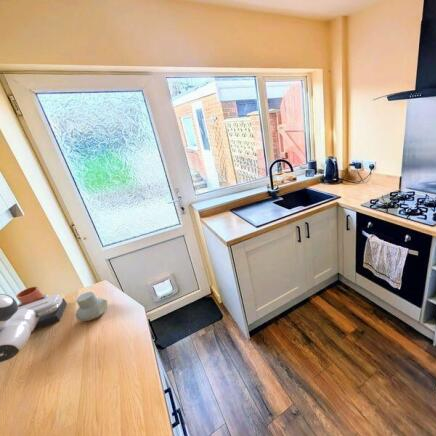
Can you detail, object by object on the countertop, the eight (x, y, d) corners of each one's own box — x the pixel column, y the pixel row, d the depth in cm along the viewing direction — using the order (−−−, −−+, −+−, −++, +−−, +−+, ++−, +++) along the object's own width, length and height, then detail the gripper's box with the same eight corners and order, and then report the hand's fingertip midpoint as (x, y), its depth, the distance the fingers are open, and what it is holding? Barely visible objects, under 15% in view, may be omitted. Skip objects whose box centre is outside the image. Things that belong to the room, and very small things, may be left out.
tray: (21, 334, 98) (17, 329, 97) (32, 315, 108) (29, 310, 107) (59, 320, 103) (56, 315, 102) (67, 303, 113) (63, 298, 112)
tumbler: (28, 320, 100) (13, 299, 96) (34, 310, 105) (20, 290, 101) (48, 313, 103) (34, 293, 98) (53, 304, 108) (39, 284, 103)
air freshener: (100, 321, 100) (89, 303, 96) (77, 326, 99) (65, 308, 95) (111, 303, 110) (101, 285, 106) (91, 307, 109) (80, 290, 105)
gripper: (52, 303, 94) (61, 284, 105) (-22, 328, 86) (-3, 304, 97) (60, 315, 97) (68, 295, 108) (-11, 341, 88) (6, 316, 100)
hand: (34, 300), depth 102 cm, fingers closed on tumbler, 6 cm apart
